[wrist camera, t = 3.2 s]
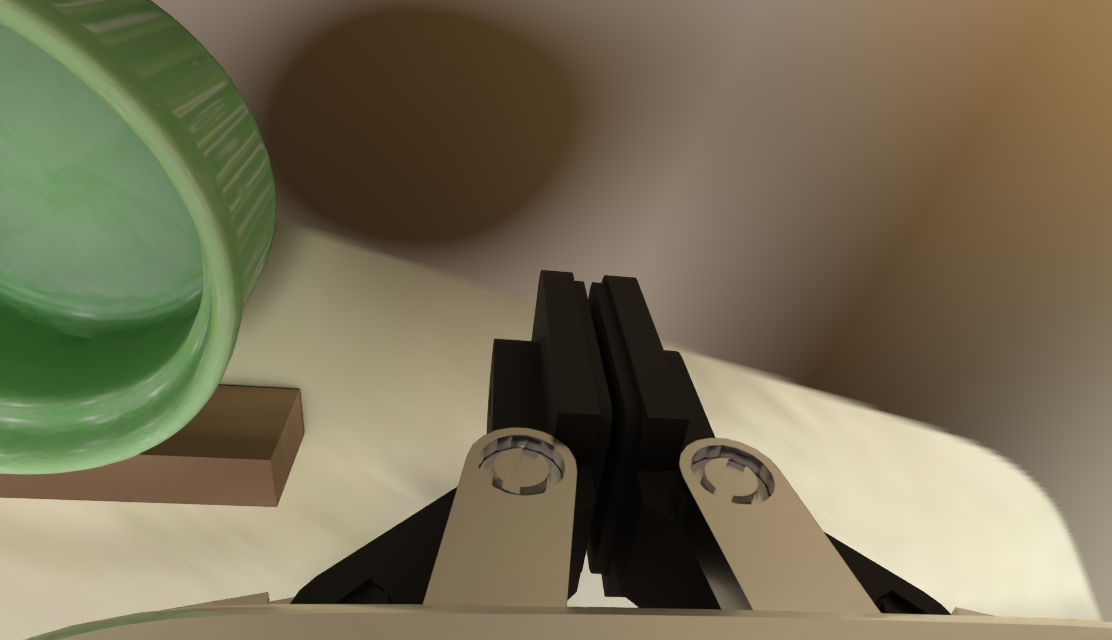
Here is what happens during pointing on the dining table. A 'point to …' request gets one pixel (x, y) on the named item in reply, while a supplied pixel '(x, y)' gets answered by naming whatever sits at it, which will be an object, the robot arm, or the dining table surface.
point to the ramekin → (118, 229)
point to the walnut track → (195, 458)
